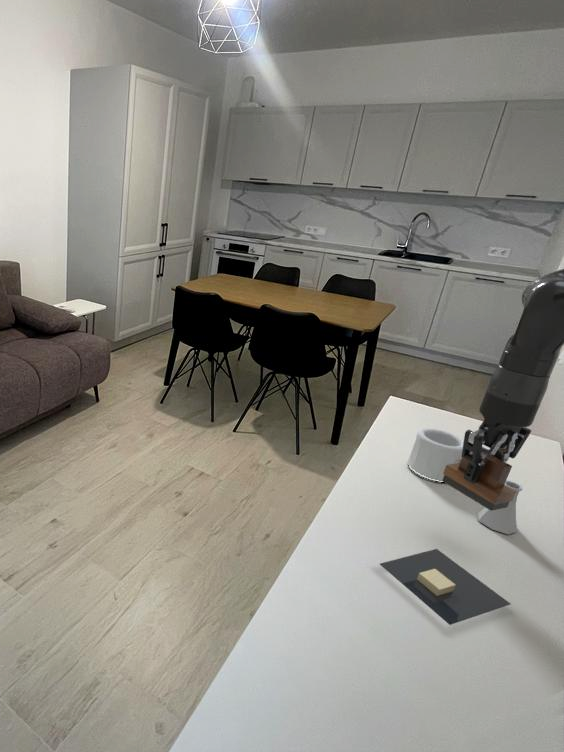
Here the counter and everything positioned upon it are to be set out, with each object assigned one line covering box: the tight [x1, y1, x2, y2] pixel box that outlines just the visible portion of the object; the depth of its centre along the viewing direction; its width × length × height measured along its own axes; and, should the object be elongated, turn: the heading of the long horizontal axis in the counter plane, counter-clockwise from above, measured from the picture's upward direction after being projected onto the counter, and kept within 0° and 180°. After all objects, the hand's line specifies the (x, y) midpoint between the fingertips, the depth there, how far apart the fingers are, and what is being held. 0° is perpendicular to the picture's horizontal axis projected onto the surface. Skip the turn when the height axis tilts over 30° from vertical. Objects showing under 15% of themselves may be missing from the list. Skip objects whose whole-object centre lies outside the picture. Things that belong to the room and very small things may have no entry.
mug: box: [407, 427, 464, 484], centre depth 125 cm, size 14×11×10 cm
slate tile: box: [379, 548, 511, 626], centre depth 88 cm, size 15×14×1 cm
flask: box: [476, 480, 523, 535], centre depth 105 cm, size 7×7×10 cm
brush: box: [442, 451, 516, 511], centre depth 91 cm, size 4×10×8 cm, turn 19°
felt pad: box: [417, 569, 455, 596], centre depth 87 cm, size 4×4×2 cm
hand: (479, 478), depth 91 cm, fingers closed on brush, 4 cm apart
